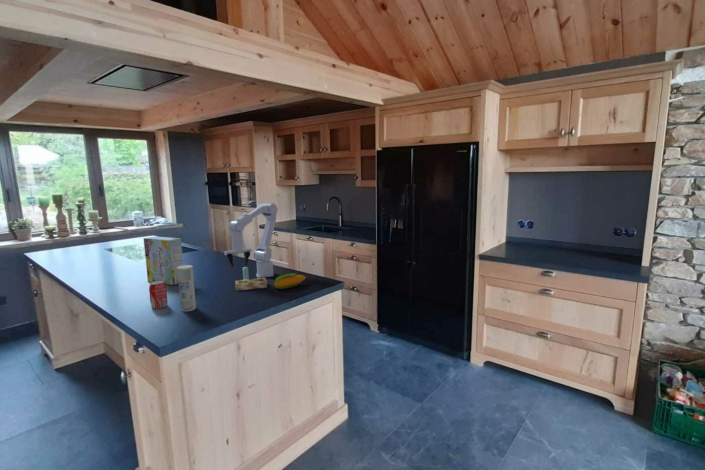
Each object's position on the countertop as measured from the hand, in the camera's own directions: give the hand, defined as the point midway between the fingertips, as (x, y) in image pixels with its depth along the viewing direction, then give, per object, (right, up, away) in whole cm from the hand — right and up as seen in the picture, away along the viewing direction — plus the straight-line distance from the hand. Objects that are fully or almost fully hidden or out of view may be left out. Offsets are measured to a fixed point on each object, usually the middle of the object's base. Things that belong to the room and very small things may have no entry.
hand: (239, 266), depth 209 cm
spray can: (-12, -17, -38) cm, 43 cm away
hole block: (+9, -11, -6) cm, 15 cm away
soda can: (-27, -16, -35) cm, 47 cm away
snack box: (-44, -10, +6) cm, 45 cm away
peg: (+4, -10, 0) cm, 10 cm away
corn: (+30, -11, -6) cm, 32 cm away
